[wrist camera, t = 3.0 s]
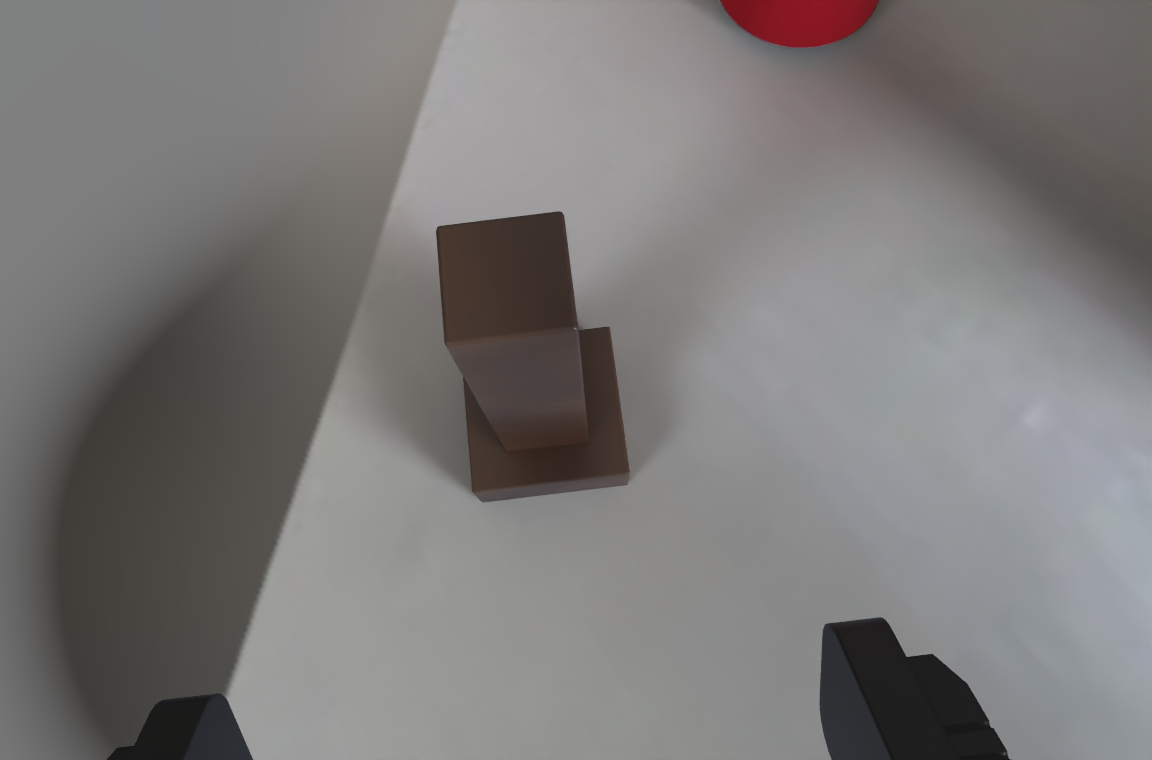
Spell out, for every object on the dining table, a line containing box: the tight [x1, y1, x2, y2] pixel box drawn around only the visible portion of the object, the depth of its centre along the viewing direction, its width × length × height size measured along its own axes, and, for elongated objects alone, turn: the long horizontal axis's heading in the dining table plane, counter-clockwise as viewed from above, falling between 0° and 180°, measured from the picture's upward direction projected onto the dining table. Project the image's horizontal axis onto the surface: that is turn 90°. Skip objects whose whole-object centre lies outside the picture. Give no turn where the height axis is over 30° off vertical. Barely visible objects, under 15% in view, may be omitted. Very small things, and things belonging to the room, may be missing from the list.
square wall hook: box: [436, 212, 630, 502], centre depth 22 cm, size 5×5×12 cm
